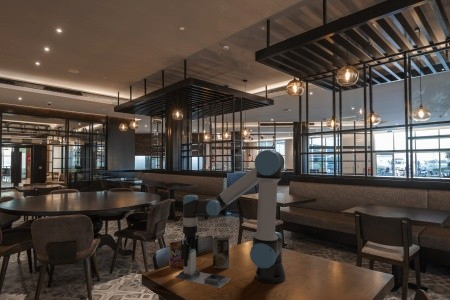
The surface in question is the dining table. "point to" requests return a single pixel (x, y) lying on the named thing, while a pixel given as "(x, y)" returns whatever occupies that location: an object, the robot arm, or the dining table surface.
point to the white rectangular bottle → (192, 262)
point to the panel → (205, 278)
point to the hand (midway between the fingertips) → (189, 270)
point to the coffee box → (221, 252)
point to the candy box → (175, 255)
